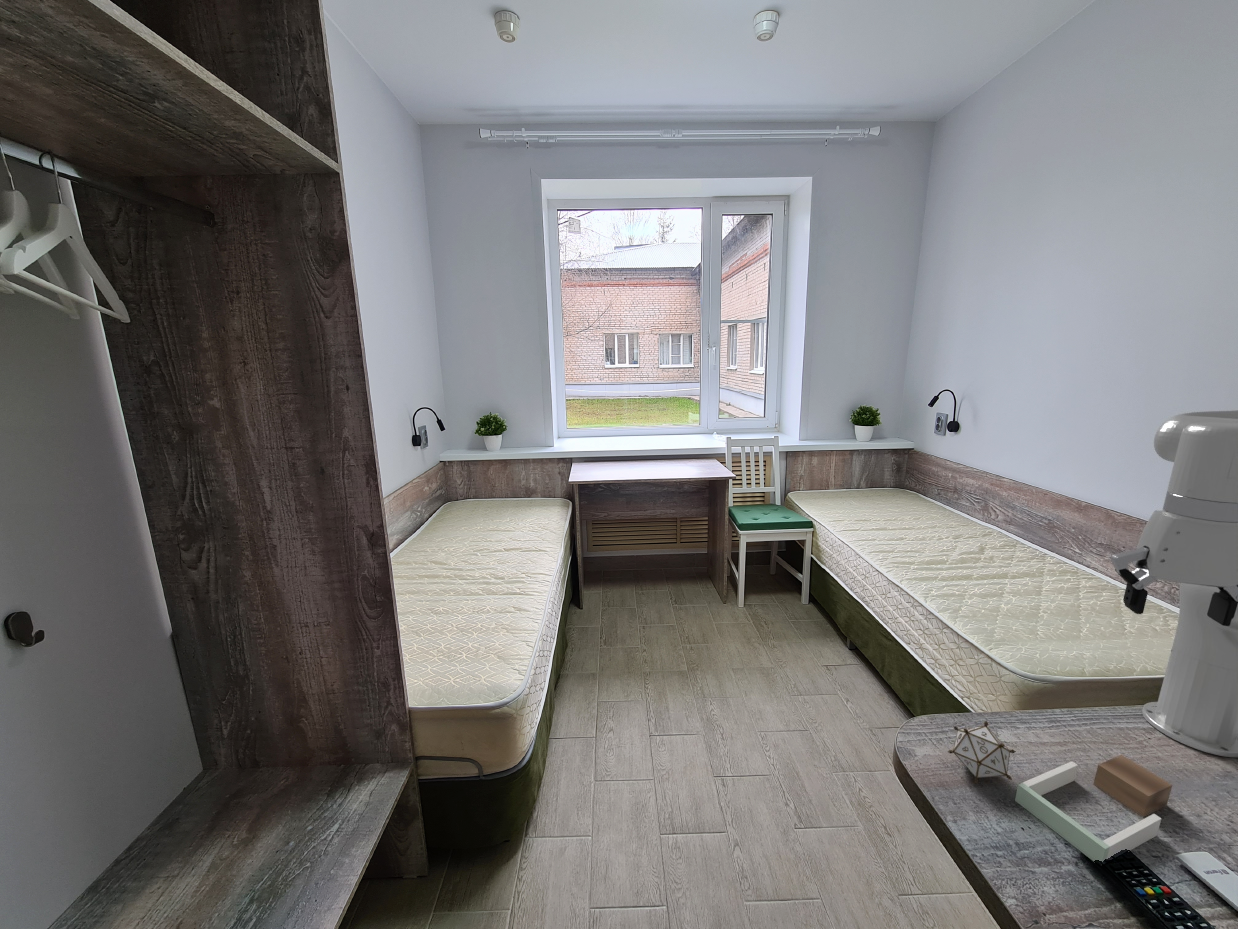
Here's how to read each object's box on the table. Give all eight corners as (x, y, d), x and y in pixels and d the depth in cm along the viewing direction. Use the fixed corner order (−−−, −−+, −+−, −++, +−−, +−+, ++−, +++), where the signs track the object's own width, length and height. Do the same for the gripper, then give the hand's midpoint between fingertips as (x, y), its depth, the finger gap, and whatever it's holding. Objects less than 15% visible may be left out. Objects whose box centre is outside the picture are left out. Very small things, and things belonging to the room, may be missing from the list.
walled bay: (1068, 776, 78) (1071, 761, 78) (1156, 835, 69) (1161, 818, 68) (1014, 800, 74) (1018, 784, 74) (1100, 867, 65) (1105, 849, 64)
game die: (988, 798, 79) (1039, 788, 72) (937, 775, 80) (982, 763, 73) (980, 741, 85) (1025, 727, 78) (932, 720, 86) (973, 704, 79)
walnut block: (1116, 775, 79) (1121, 754, 78) (1166, 806, 73) (1172, 785, 73) (1093, 785, 77) (1098, 764, 76) (1142, 818, 72) (1148, 796, 71)
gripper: (1263, 507, 70) (1232, 614, 73) (1110, 496, 76) (1088, 595, 79) (1313, 523, 63) (1276, 640, 66) (1141, 509, 69) (1115, 617, 72)
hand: (1174, 615), depth 73 cm, fingers open, 9 cm apart
